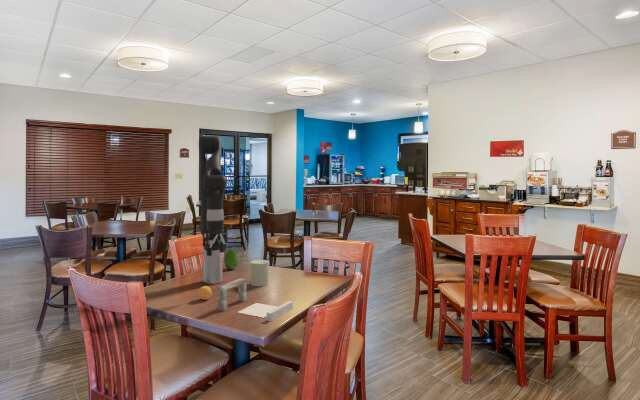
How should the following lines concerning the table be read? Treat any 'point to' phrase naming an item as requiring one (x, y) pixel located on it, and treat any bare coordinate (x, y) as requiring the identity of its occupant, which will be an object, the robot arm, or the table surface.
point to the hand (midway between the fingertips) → (215, 254)
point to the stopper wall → (279, 310)
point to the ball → (204, 292)
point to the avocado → (231, 259)
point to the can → (260, 273)
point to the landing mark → (257, 310)
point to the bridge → (223, 288)
